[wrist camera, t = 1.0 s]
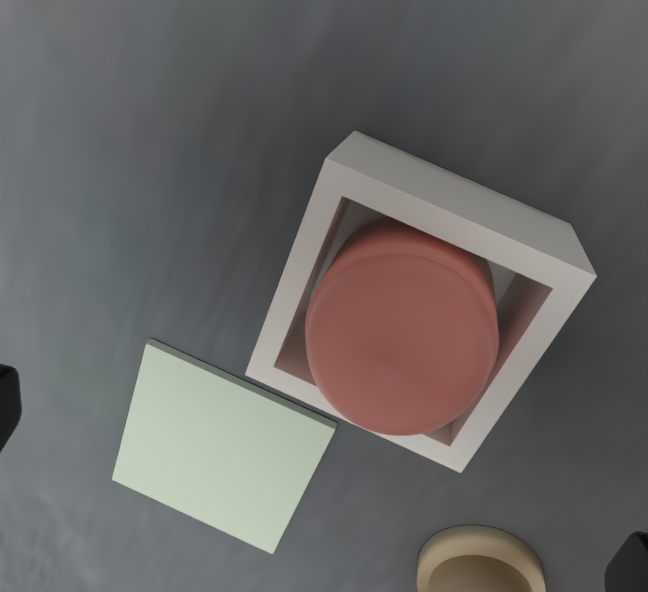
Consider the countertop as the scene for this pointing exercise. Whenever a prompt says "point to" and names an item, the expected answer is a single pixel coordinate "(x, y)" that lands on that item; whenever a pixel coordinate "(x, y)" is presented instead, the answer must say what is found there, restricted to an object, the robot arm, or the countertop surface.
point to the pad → (218, 446)
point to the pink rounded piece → (402, 329)
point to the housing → (449, 225)
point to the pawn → (478, 562)
